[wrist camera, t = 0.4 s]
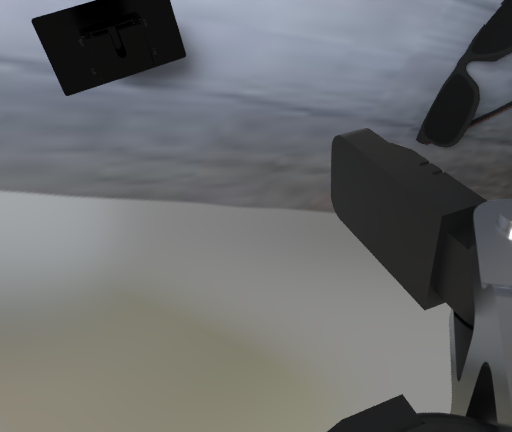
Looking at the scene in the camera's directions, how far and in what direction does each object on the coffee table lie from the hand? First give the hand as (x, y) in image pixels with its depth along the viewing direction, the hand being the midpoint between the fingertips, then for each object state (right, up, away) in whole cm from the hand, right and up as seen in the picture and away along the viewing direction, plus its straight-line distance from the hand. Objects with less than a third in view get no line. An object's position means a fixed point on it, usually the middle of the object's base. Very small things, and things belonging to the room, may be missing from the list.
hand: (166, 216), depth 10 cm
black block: (-9, +13, +25) cm, 29 cm away
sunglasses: (+27, +14, +40) cm, 50 cm away
